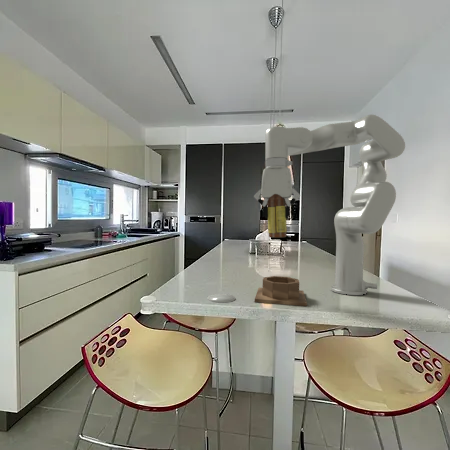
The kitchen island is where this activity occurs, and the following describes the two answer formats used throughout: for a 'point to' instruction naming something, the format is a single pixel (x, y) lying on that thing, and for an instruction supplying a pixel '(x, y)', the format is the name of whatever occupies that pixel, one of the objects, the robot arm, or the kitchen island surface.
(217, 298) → the coaster
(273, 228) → the sauce bottle
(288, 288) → the holder
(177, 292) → the kitchen island surface
